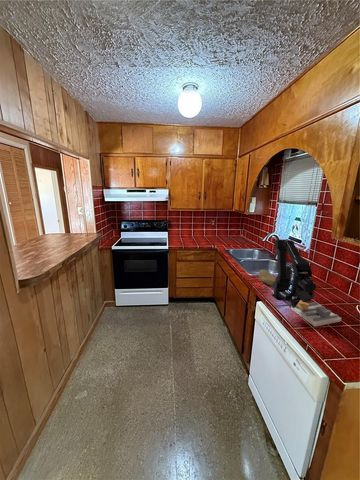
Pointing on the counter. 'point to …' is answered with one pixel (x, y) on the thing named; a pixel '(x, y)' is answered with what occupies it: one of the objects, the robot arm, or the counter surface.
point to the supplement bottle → (289, 271)
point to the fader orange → (302, 305)
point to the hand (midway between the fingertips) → (293, 307)
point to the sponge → (266, 277)
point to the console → (316, 315)
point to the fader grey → (322, 311)
